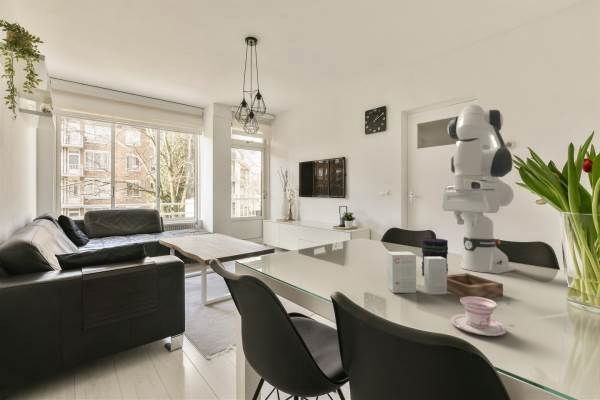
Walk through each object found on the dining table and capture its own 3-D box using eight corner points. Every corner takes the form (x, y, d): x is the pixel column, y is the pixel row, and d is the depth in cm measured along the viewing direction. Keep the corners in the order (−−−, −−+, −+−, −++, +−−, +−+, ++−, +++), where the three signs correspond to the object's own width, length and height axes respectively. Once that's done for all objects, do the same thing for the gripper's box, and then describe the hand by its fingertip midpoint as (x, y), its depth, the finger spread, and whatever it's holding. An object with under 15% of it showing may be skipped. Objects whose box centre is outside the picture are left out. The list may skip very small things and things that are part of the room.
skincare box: (440, 290, 100) (440, 256, 100) (447, 294, 96) (447, 258, 96) (423, 290, 100) (423, 256, 100) (429, 294, 96) (429, 258, 96)
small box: (409, 287, 104) (409, 251, 104) (416, 293, 98) (416, 254, 98) (387, 287, 104) (387, 251, 104) (392, 293, 98) (392, 254, 98)
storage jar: (449, 280, 113) (449, 242, 113) (422, 277, 117) (422, 240, 116) (445, 273, 123) (445, 238, 123) (420, 272, 126) (420, 237, 126)
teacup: (484, 341, 65) (484, 313, 65) (440, 320, 76) (440, 297, 76) (517, 331, 70) (518, 305, 70) (471, 313, 81) (471, 291, 81)
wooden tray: (466, 284, 108) (466, 273, 108) (502, 296, 95) (502, 283, 95) (436, 287, 104) (436, 276, 104) (469, 300, 91) (469, 287, 91)
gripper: (437, 186, 108) (437, 223, 108) (487, 183, 89) (487, 228, 89) (451, 186, 110) (451, 222, 110) (503, 183, 91) (503, 227, 91)
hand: (467, 225), depth 99 cm, fingers open, 5 cm apart
